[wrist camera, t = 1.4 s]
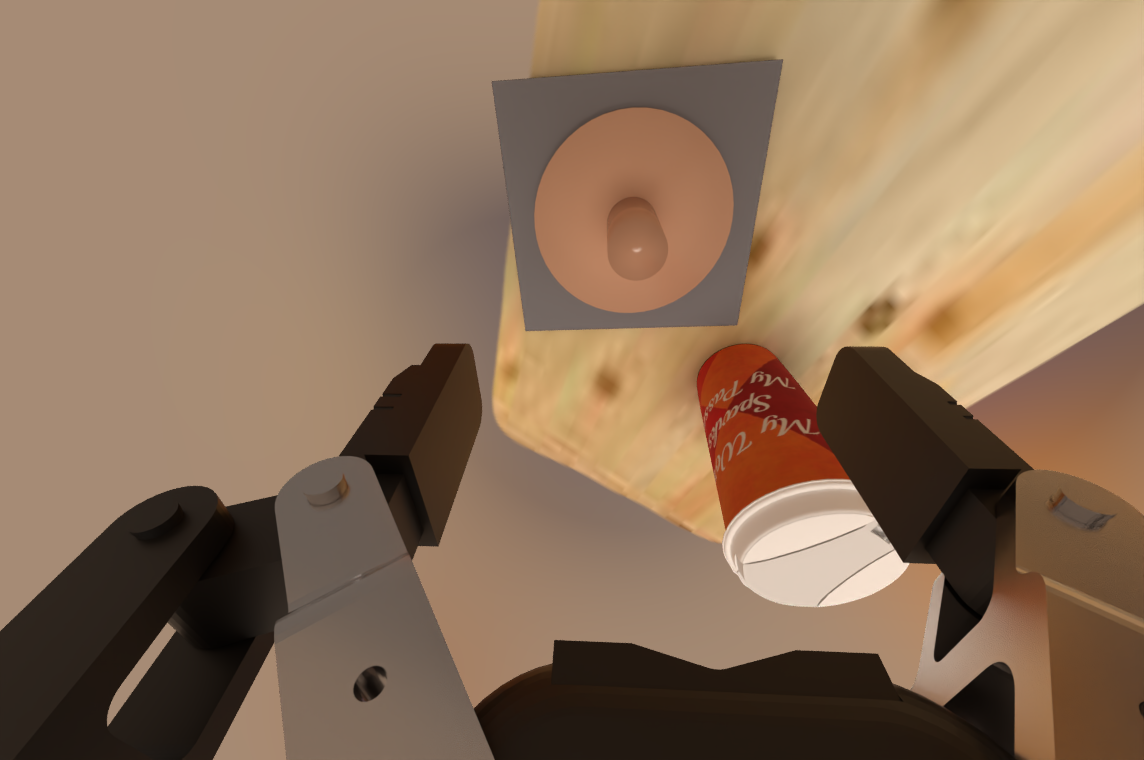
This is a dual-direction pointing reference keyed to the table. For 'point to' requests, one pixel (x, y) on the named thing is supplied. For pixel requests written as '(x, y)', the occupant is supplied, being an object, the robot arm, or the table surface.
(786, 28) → the table surface
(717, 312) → the mat
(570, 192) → the lid
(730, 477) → the coffee cup
